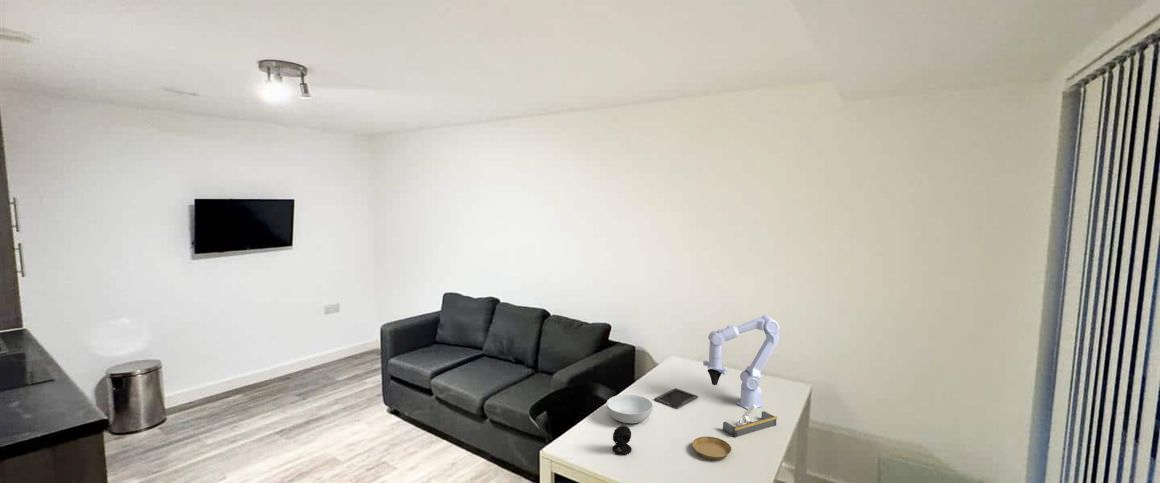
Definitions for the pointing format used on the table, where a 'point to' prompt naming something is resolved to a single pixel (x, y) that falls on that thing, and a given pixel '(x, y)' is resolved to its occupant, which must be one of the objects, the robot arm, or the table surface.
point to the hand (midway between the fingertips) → (714, 384)
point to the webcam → (622, 440)
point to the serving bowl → (629, 408)
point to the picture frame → (676, 398)
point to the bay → (751, 425)
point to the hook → (747, 415)
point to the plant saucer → (711, 447)
